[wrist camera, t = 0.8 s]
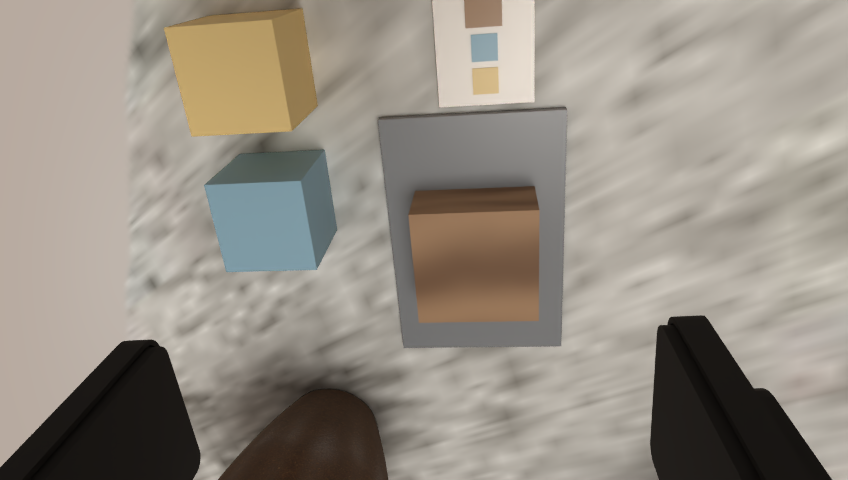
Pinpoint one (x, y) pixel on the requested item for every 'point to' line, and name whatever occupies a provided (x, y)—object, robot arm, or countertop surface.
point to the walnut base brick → (476, 254)
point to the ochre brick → (243, 72)
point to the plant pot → (315, 443)
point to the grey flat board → (468, 169)
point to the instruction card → (484, 51)
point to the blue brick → (273, 211)
